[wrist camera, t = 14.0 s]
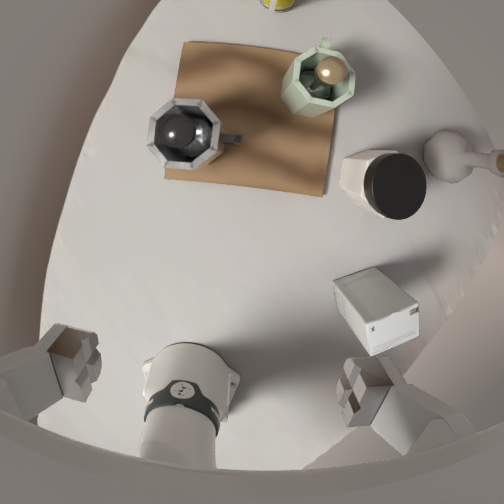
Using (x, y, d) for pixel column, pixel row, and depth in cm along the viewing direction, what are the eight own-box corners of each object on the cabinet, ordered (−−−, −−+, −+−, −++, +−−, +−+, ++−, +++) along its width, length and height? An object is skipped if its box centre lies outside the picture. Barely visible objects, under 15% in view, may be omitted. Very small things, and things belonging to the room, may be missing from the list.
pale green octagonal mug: (327, 120, 40) (351, 112, 30) (278, 111, 39) (289, 99, 30) (334, 62, 37) (358, 41, 27) (286, 52, 36) (298, 26, 27)
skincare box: (337, 308, 51) (367, 360, 36) (331, 278, 49) (363, 325, 35) (380, 293, 50) (420, 339, 36) (376, 263, 48) (420, 303, 34)
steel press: (238, 168, 42) (237, 174, 29) (171, 162, 41) (144, 166, 28) (244, 119, 39) (247, 103, 27) (177, 113, 39) (152, 97, 26)
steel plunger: (210, 158, 36) (199, 159, 25) (172, 155, 35) (146, 155, 25) (215, 120, 34) (205, 106, 24) (177, 117, 34) (152, 103, 23)
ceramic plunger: (326, 108, 36) (353, 95, 27) (291, 101, 36) (308, 84, 26) (330, 75, 35) (357, 55, 25) (295, 68, 34) (313, 43, 25)
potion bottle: (417, 178, 44) (490, 195, 27) (419, 126, 41) (493, 123, 24) (454, 183, 44) (526, 202, 27) (456, 135, 41) (529, 138, 24)
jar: (345, 211, 45) (378, 231, 34) (329, 161, 43) (359, 165, 31) (393, 193, 45) (435, 207, 33) (379, 145, 42) (420, 145, 31)
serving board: (320, 196, 44) (322, 197, 43) (166, 178, 43) (164, 178, 41) (337, 65, 38) (339, 63, 37) (185, 44, 36) (183, 42, 35)
